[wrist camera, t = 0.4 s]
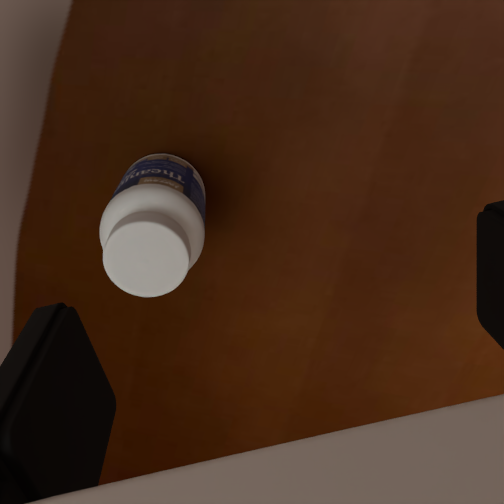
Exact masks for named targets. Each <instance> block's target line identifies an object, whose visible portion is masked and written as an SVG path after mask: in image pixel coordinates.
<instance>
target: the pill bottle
mask: <svg viewBox="0 0 504 504" xmlns="http://www.w3.org/2000/svg"><path fill="white" fill-rule="evenodd" d="M204 237H205V189H204V184H203V181H202V179H201V177H200V175H199V174H198V172H197V171H196V170H195V168H194V167H193V166H192V165H191V164H189V163H188V162H187V161H185V160H183V159H181V158H179V157H177V156H174V155H170V154H152V155H148V156H146V157H143V158H141V159H139V160H138V161H137V162H135V163H134V164H133V165H132V166H131V167H130V168H129V169H128V170H127V172H126V173H125V175H124V177H123V178H122V180H121V182H120V184H119V186H118V187H117V189H116V191H115V193H114V195H113V197H112V198H111V200H110V202H109V204H108V205H107V207H106V209H105V211H104V213H103V216H102V219H101V223H100V241H101V245H102V248H103V263H104V267H105V270H106V272H107V274H108V276H109V277H110V279H111V280H112V281H113V282H114V283H115V284H116V285H117V286H118V287H119V288H121V289H122V290H124V291H125V292H127V293H130V294H132V295H136V296H142V297H156V296H160V295H164V294H166V293H168V292H170V291H172V290H174V289H175V288H176V287H177V286H178V285H179V284H180V283H181V282H182V281H183V280H184V278H185V276H186V274H187V272H188V270H189V269H190V268H191V267H192V266H193V265H194V263H195V262H196V261H197V259H198V257H199V256H200V254H201V251H202V248H203V244H204Z"/></svg>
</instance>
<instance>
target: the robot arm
mask: <svg viewBox="0 0 504 504" xmlns="http://www.w3.org/2000/svg"><path fill="white" fill-rule="evenodd" d="M477 316H478V319H479V321H480V323H481V325H482V326H483V328H484V329H485V330H486V331H487V332H488V333H489V334H490V335H491V336H492V337H493V338H494V340H495V341H496V342H497V343H498V344H499V345H500V346H501V347H502V348H503V349H504V200H503V201H499V202H494V203H490V204H487V205H486V206H485V207H484V210H483V212H480V213H479V214H478V216H477ZM115 411H116V399H115V395H114V392H113V390H112V388H111V386H110V384H109V381H108V379H107V377H106V375H105V373H104V370H103V368H102V366H101V364H100V362H99V359H98V357H97V355H96V353H95V351H94V348H93V346H92V344H91V342H90V340H89V337H88V335H87V333H86V331H85V329H84V326H83V324H82V322H81V320H80V318H79V315H78V313H77V311H76V310H75V309H74V307H67V306H66V305H65V304H64V303H57V304H53V305H49V306H44V307H40V308H36V309H35V310H34V312H33V313H32V315H31V317H30V318H29V320H28V322H27V323H26V325H25V327H24V328H23V330H22V331H21V333H20V335H19V336H18V338H17V340H16V341H15V343H14V345H13V346H12V348H11V350H10V351H9V353H8V354H7V356H6V358H5V359H4V361H3V363H2V364H1V366H0V504H504V394H502V395H498V396H493V397H489V398H484V399H480V400H475V401H471V402H466V403H462V404H457V405H453V406H448V407H444V408H439V409H435V410H430V411H426V412H421V413H417V414H412V415H408V416H403V417H399V418H395V419H390V420H386V421H381V422H377V423H372V424H368V425H363V426H359V427H354V428H350V429H345V430H341V431H337V432H332V433H328V434H323V435H319V436H315V437H310V438H306V439H301V440H297V441H293V442H288V443H284V444H279V445H275V446H271V447H266V448H262V449H257V450H253V451H249V452H244V453H240V454H235V455H231V456H226V457H222V458H218V459H213V460H209V461H204V462H200V463H195V464H191V465H187V466H183V467H178V468H174V469H170V470H165V471H161V472H157V473H152V474H148V475H144V476H139V477H135V478H131V479H126V480H122V481H118V482H113V483H109V484H105V485H100V486H98V483H99V479H100V475H101V471H102V466H103V462H104V458H105V454H106V449H107V445H108V441H109V437H110V433H111V428H112V424H113V420H114V416H115Z"/></svg>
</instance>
